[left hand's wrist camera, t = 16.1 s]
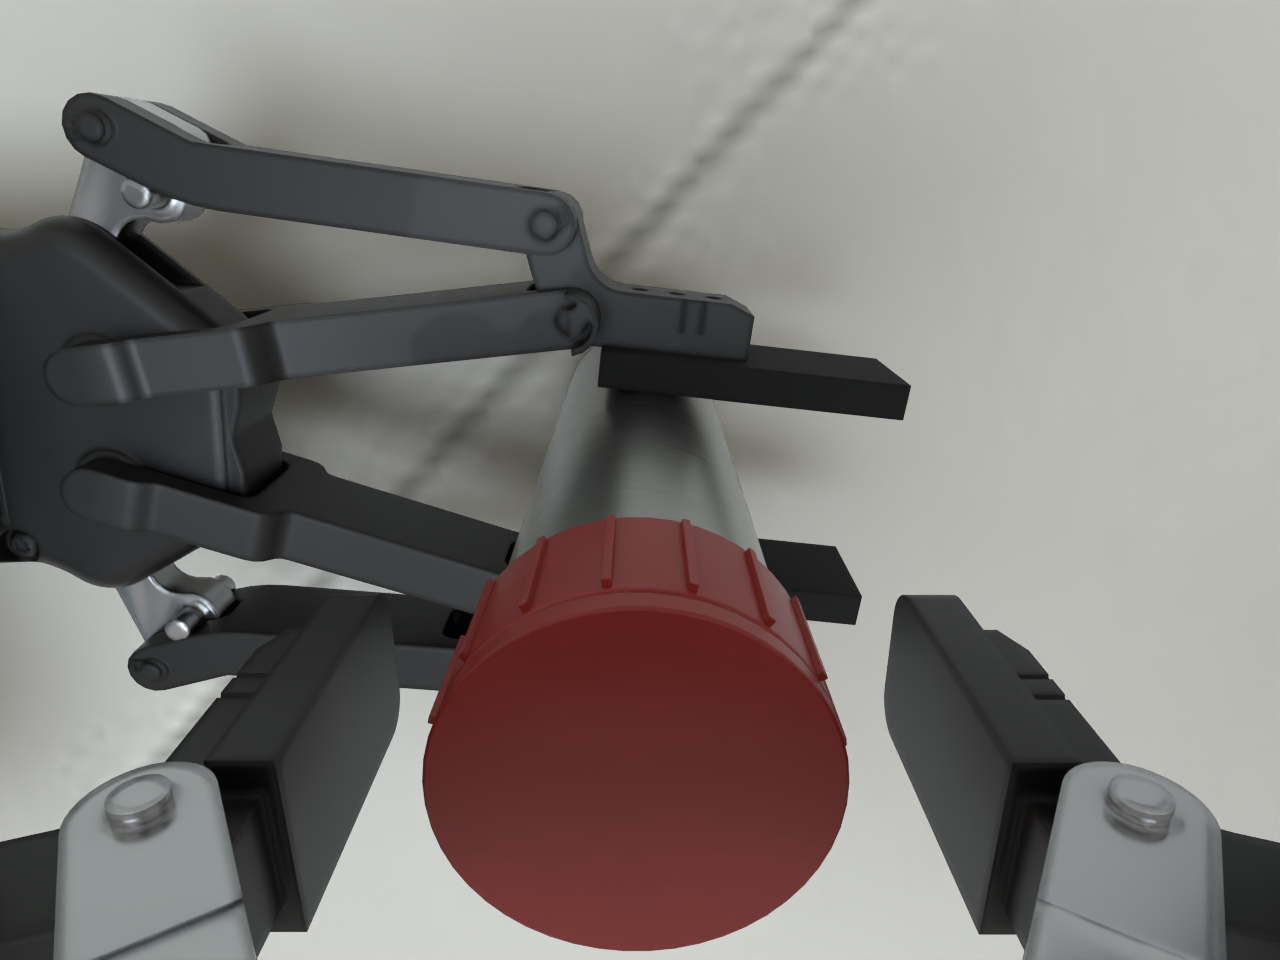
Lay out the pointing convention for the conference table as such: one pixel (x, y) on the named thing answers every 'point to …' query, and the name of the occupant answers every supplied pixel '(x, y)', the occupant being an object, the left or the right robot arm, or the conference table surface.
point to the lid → (636, 740)
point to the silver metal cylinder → (635, 464)
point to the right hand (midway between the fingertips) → (863, 489)
